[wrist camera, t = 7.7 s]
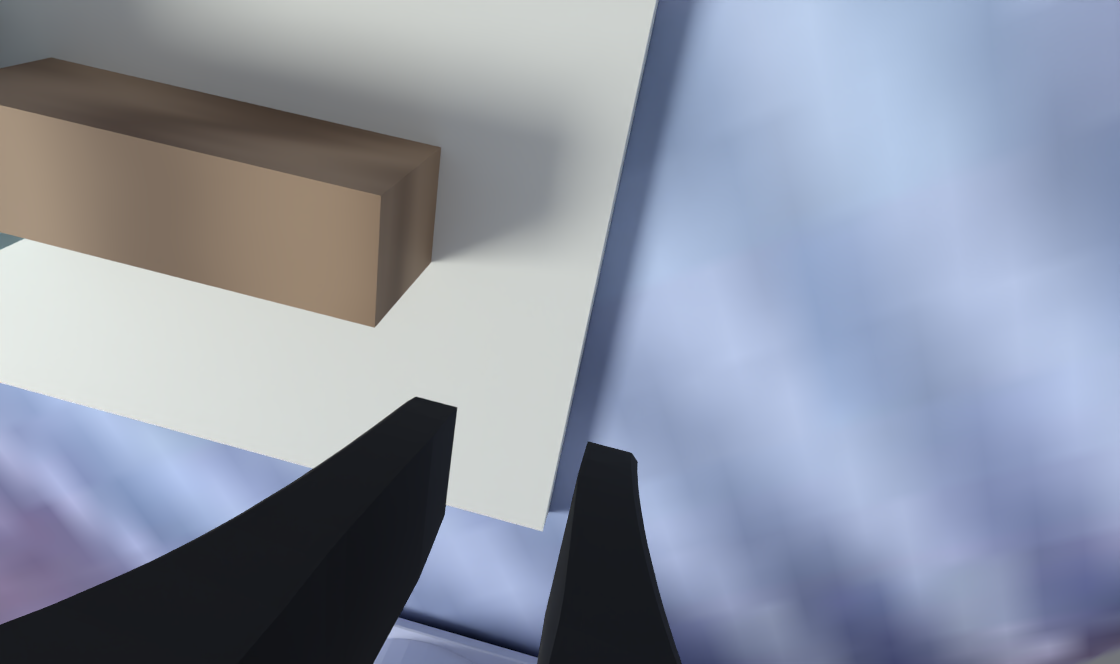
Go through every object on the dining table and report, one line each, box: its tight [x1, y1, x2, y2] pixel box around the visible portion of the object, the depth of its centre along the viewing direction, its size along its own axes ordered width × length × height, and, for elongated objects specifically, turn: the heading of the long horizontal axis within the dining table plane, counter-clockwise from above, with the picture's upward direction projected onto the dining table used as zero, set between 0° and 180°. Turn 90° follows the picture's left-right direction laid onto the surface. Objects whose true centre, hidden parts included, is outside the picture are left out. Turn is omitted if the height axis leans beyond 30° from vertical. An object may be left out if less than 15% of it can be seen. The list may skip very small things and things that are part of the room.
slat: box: [0, 57, 441, 328], centre depth 17 cm, size 10×3×4 cm, turn 81°
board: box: [0, 0, 659, 531], centre depth 21 cm, size 26×15×1 cm, turn 81°
